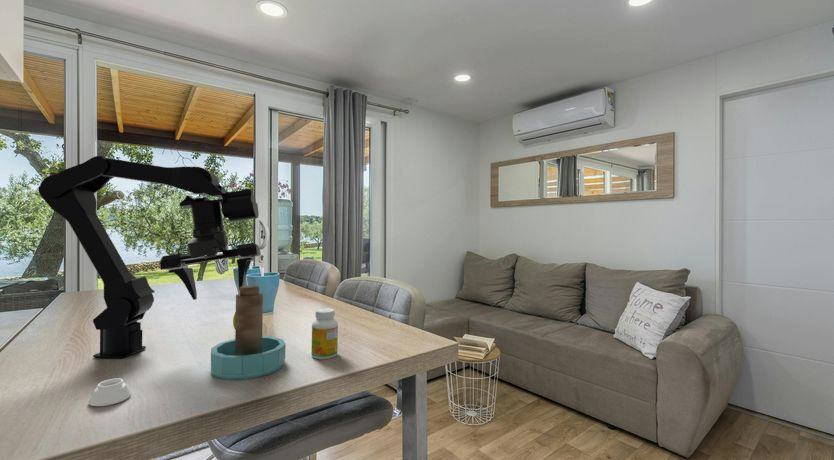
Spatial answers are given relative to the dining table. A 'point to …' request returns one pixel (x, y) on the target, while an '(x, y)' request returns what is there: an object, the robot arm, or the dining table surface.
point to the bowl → (247, 360)
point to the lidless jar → (110, 393)
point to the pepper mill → (248, 321)
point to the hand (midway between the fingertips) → (218, 295)
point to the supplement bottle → (324, 334)
